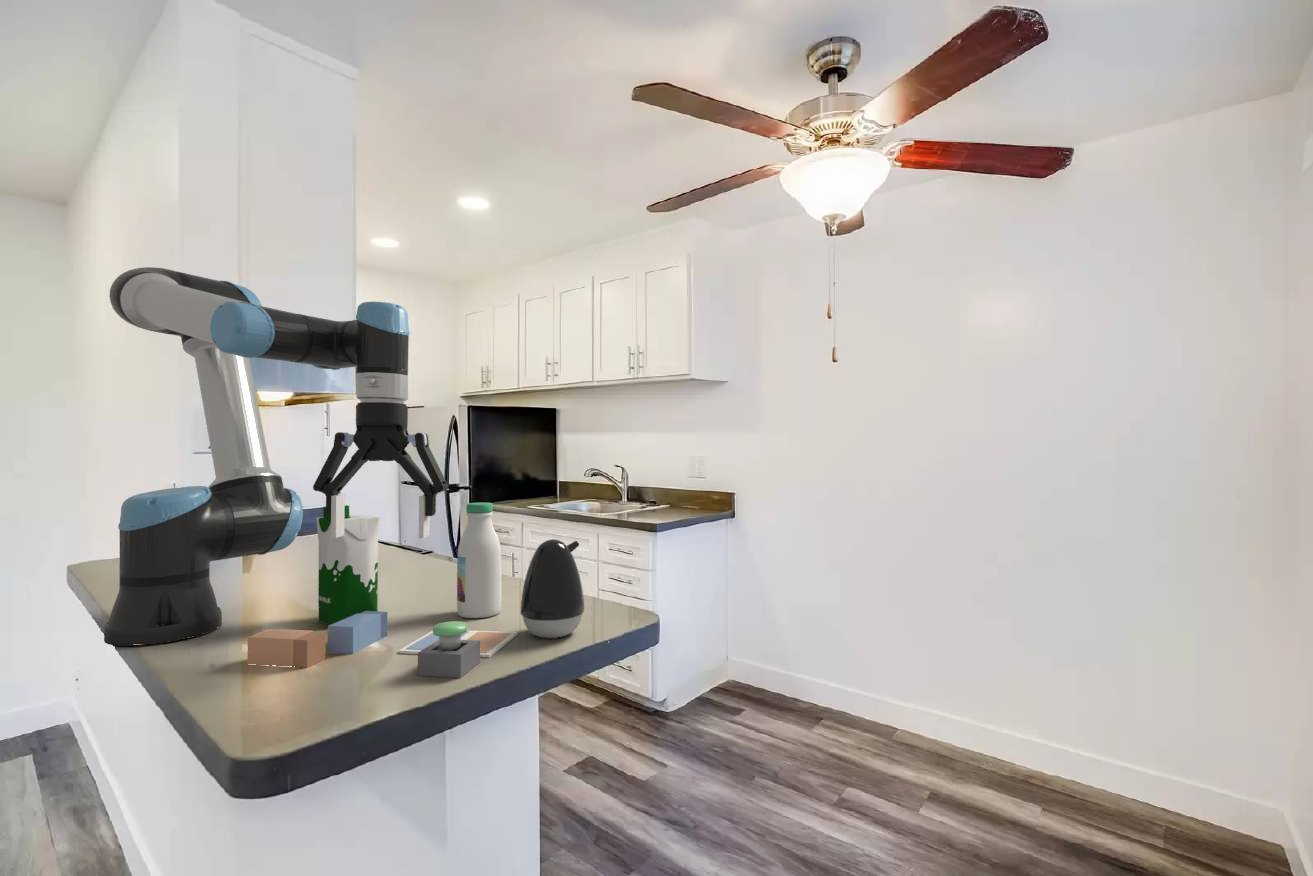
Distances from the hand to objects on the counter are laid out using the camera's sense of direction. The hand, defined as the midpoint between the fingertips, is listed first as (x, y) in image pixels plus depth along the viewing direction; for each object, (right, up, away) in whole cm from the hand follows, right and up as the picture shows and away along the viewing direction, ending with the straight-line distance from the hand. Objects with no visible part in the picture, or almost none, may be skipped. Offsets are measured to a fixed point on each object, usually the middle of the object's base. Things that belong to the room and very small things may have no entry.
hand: (380, 537), depth 99 cm
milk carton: (-10, -16, +11) cm, 22 cm away
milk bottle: (+11, -16, +15) cm, 25 cm away
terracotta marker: (-8, -16, -11) cm, 21 cm away
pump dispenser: (+27, -16, +2) cm, 31 cm away
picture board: (+13, -16, -3) cm, 21 cm away
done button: (+15, -13, -14) cm, 24 cm away
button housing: (+15, -16, -14) cm, 26 cm away
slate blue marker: (-2, -16, -2) cm, 16 cm away
